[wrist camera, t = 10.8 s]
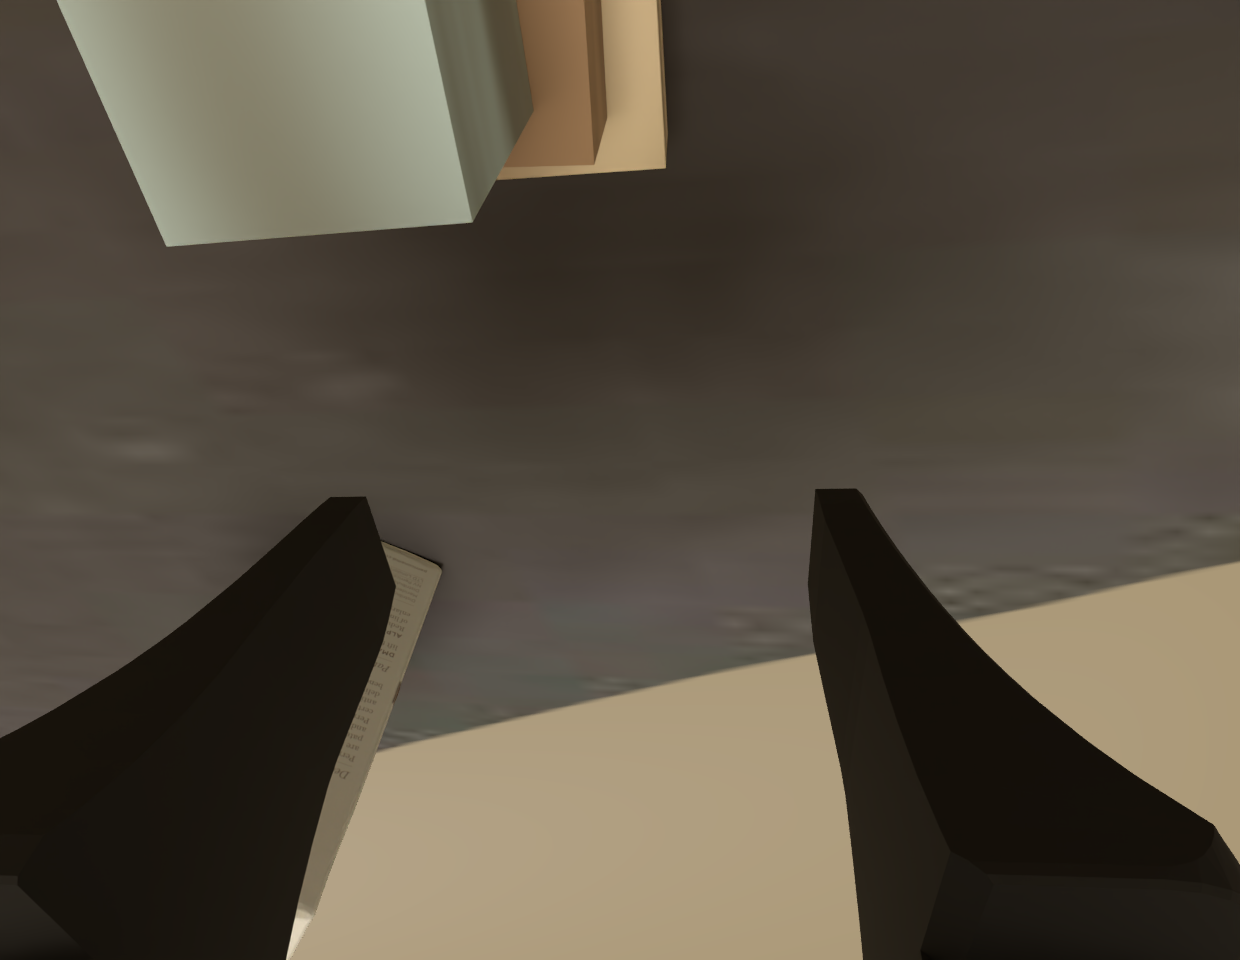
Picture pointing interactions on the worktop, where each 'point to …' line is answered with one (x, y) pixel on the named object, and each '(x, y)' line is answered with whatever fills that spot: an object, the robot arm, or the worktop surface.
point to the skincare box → (367, 724)
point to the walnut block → (562, 83)
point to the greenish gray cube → (307, 109)
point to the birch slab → (626, 94)
